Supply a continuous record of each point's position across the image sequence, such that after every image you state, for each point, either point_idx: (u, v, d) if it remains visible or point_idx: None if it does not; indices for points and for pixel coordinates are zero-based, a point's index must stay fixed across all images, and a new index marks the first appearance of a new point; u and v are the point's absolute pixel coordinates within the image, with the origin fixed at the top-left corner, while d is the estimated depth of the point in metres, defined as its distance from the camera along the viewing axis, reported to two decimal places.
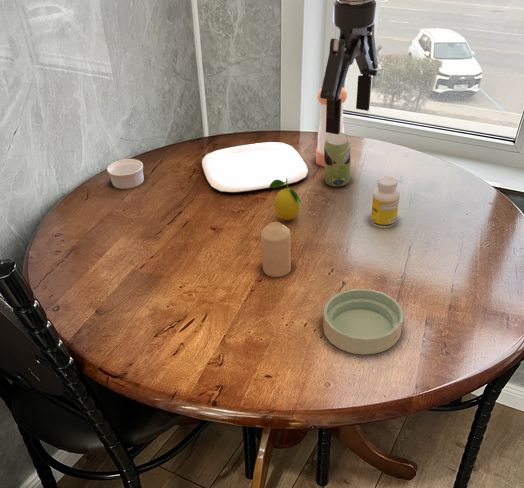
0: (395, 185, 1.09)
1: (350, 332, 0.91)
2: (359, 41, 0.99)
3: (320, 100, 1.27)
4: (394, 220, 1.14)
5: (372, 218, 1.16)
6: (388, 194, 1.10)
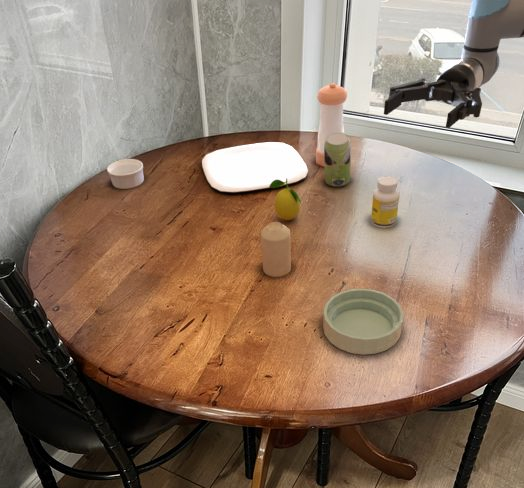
0: (395, 185, 1.09)
1: (350, 332, 0.91)
2: (443, 80, 1.16)
3: (320, 100, 1.27)
4: (394, 220, 1.14)
5: (372, 218, 1.16)
6: (388, 194, 1.10)
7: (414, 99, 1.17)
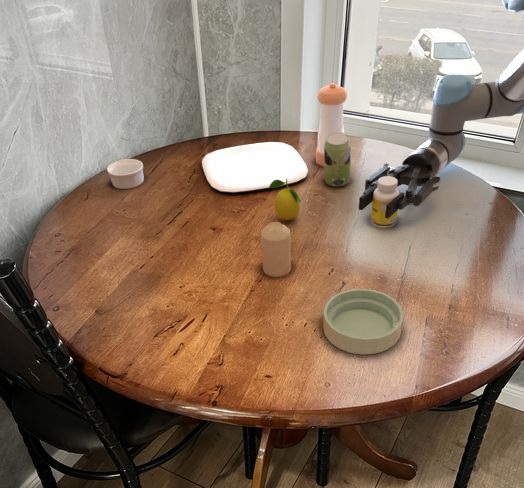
0: (395, 185, 1.09)
1: (350, 332, 0.91)
2: (407, 165, 1.19)
3: (320, 100, 1.27)
4: (394, 220, 1.14)
5: (372, 218, 1.16)
6: (389, 194, 1.10)
7: None
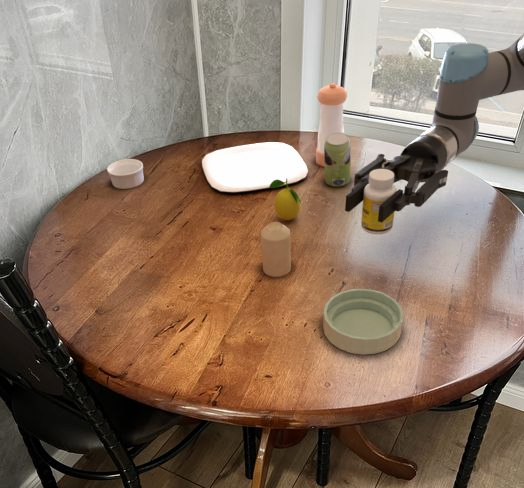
0: (391, 180, 0.86)
1: (350, 332, 0.91)
2: (407, 156, 0.95)
3: (320, 100, 1.27)
4: (389, 224, 0.91)
5: (363, 221, 0.92)
6: (383, 191, 0.87)
7: None
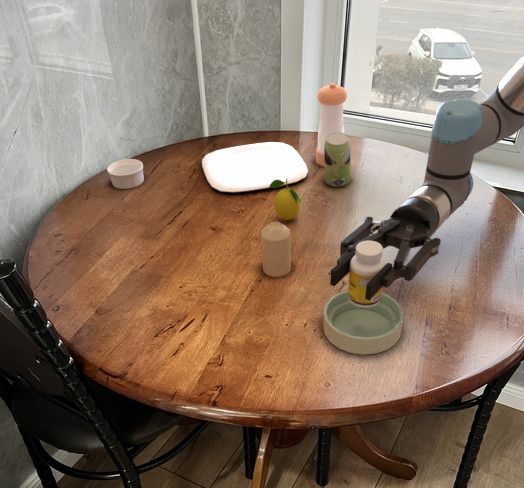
0: (379, 255, 0.80)
1: (350, 332, 0.91)
2: (397, 221, 0.89)
3: (320, 100, 1.27)
4: (378, 298, 0.85)
5: (349, 294, 0.86)
6: (370, 266, 0.81)
7: None
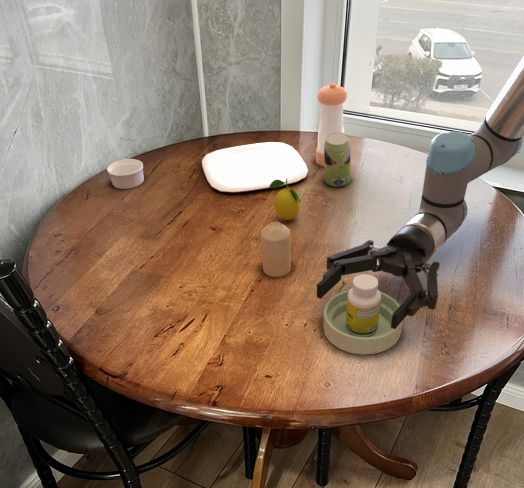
0: (375, 288, 0.85)
1: None
2: (393, 248, 0.93)
3: (320, 100, 1.27)
4: (374, 328, 0.90)
5: (347, 323, 0.91)
6: (367, 299, 0.85)
7: (357, 271, 0.94)
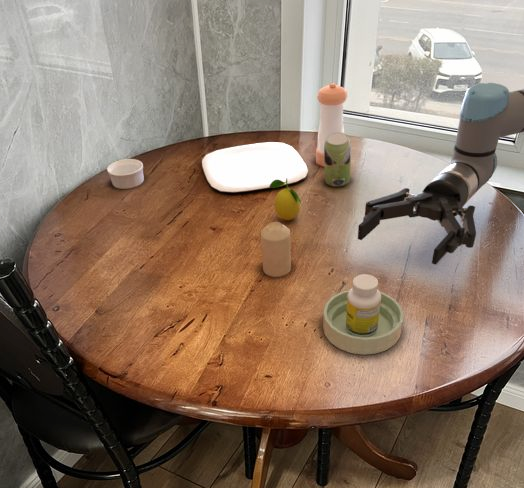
0: (375, 288, 0.85)
1: None
2: (430, 194, 0.97)
3: (320, 100, 1.27)
4: (374, 328, 0.90)
5: (347, 323, 0.91)
6: (367, 299, 0.85)
7: (394, 216, 0.97)
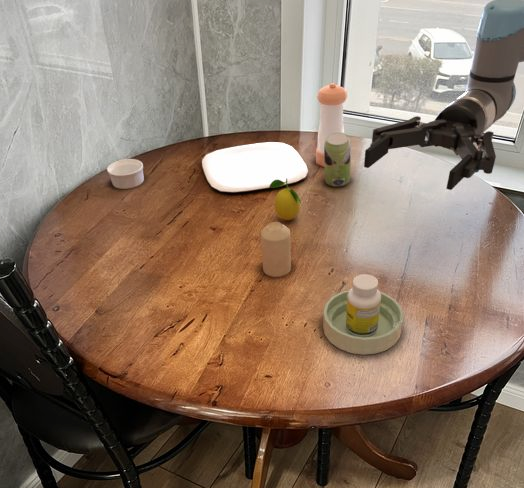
0: (375, 288, 0.85)
1: None
2: (443, 120, 0.88)
3: (320, 100, 1.27)
4: (374, 328, 0.90)
5: (347, 323, 0.91)
6: (367, 299, 0.85)
7: (404, 145, 0.89)
